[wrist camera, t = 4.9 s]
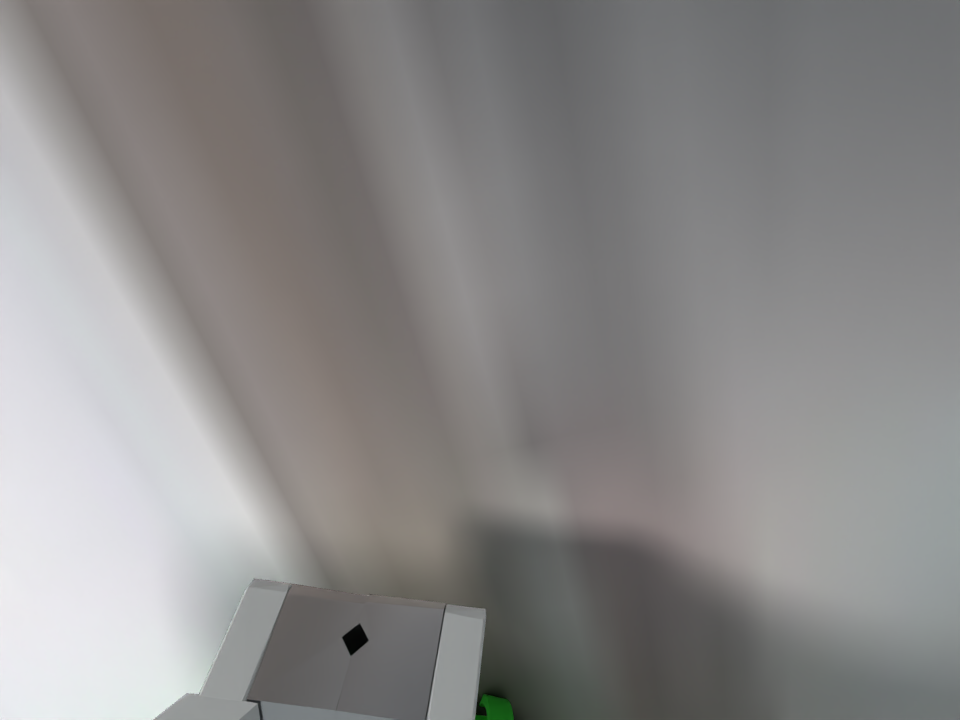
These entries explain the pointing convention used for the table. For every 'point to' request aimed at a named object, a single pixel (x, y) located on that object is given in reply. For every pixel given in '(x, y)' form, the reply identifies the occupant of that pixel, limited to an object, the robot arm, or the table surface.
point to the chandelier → (495, 708)
